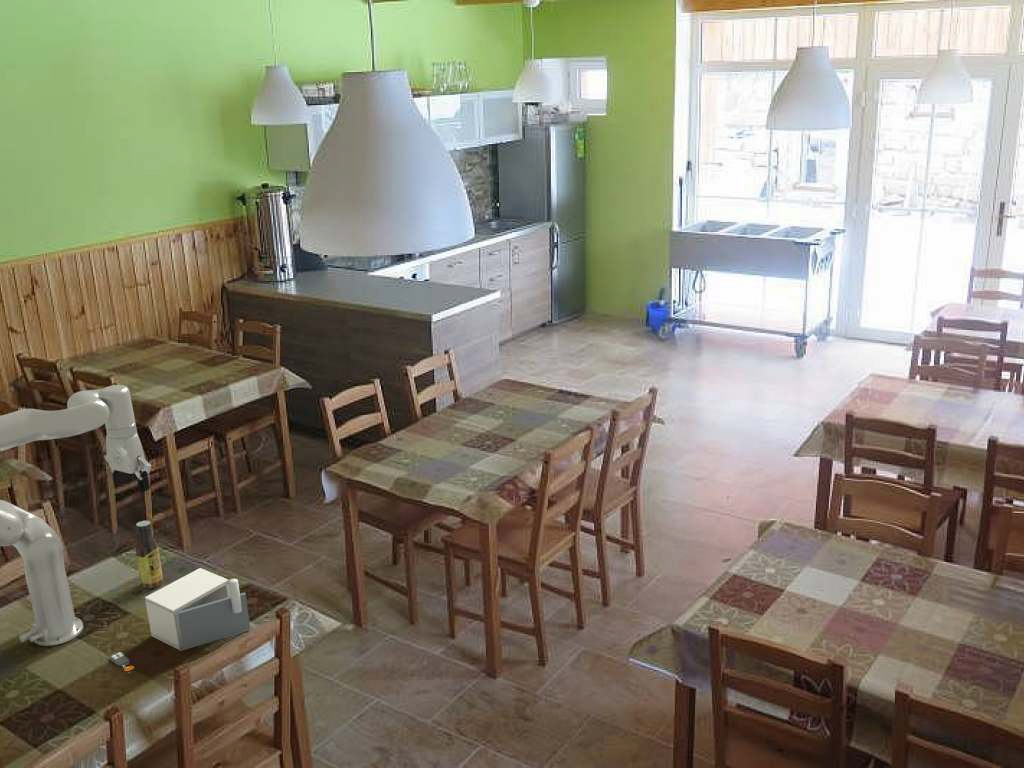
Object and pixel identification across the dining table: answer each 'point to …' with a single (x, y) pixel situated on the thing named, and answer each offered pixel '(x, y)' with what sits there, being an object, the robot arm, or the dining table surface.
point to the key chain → (121, 660)
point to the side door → (213, 619)
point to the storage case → (182, 601)
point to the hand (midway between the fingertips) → (132, 487)
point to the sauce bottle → (148, 557)
